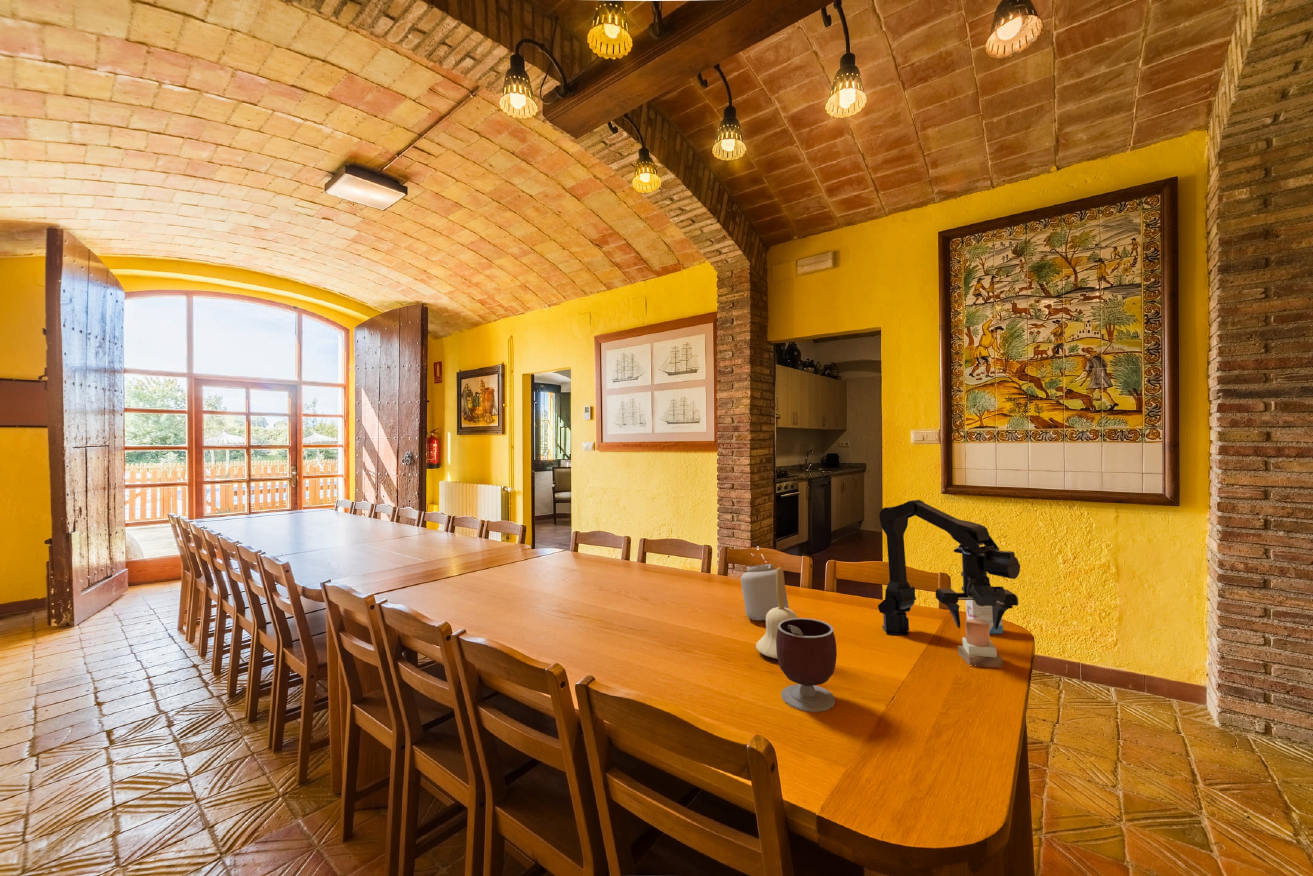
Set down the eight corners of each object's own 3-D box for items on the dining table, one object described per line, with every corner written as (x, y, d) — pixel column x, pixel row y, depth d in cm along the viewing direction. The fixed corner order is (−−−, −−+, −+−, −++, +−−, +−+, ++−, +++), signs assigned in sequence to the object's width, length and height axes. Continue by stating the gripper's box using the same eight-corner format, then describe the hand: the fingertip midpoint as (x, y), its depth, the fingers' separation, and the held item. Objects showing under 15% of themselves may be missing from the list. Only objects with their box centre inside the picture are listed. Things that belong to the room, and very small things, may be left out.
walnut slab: (969, 668, 138) (969, 657, 138) (958, 656, 146) (958, 645, 146) (1003, 670, 137) (1002, 658, 137) (989, 657, 144) (989, 646, 144)
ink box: (994, 628, 164) (993, 591, 164) (1003, 634, 159) (1001, 595, 159) (966, 628, 165) (964, 591, 165) (974, 634, 160) (972, 595, 160)
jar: (730, 614, 186) (727, 545, 186) (762, 607, 193) (760, 540, 193) (764, 630, 169) (761, 554, 169) (798, 622, 176) (795, 548, 176)
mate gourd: (793, 680, 133) (790, 602, 134) (847, 695, 125) (843, 612, 125) (764, 704, 121) (761, 619, 122) (822, 723, 113) (818, 631, 113)
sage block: (969, 655, 139) (968, 646, 139) (962, 646, 145) (962, 637, 145) (996, 657, 137) (996, 648, 137) (989, 648, 143) (988, 639, 144)
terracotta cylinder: (970, 646, 139) (969, 625, 139) (963, 638, 144) (962, 618, 145) (993, 647, 138) (992, 626, 138) (985, 639, 143) (984, 619, 143)
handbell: (766, 640, 161) (763, 559, 161) (815, 648, 153) (812, 564, 153) (748, 658, 148) (745, 570, 148) (801, 668, 140) (798, 576, 140)
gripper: (948, 578, 135) (950, 638, 135) (1027, 579, 132) (1030, 640, 132) (933, 568, 146) (936, 623, 146) (1006, 568, 143) (1009, 625, 143)
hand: (977, 628), depth 141 cm, fingers open, 9 cm apart
